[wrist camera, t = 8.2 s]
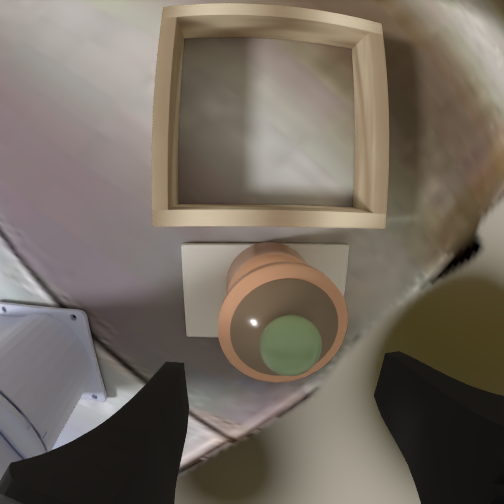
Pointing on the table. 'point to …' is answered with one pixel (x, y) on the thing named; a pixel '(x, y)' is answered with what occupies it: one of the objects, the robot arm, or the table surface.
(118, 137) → the table surface
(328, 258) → the grey mat
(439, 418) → the robot arm
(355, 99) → the frame
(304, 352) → the terracotta pot
